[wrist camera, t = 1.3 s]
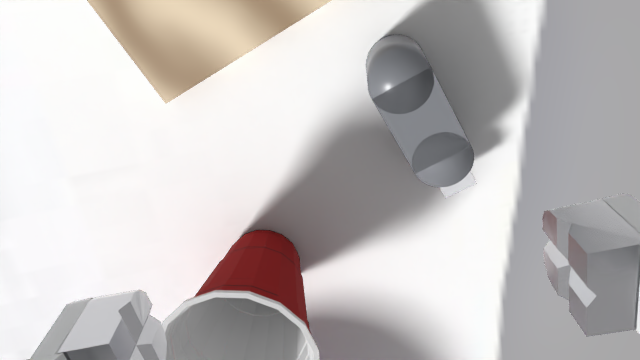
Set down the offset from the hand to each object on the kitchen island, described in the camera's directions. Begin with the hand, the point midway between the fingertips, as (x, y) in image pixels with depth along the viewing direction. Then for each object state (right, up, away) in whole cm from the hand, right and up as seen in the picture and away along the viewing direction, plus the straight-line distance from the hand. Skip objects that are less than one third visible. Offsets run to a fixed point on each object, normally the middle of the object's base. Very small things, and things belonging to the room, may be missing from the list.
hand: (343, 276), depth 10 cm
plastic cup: (-5, -4, +33) cm, 33 cm away
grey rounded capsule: (+6, +8, +26) cm, 27 cm away
